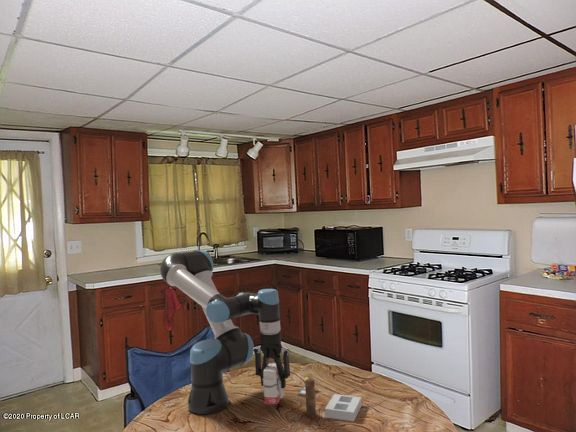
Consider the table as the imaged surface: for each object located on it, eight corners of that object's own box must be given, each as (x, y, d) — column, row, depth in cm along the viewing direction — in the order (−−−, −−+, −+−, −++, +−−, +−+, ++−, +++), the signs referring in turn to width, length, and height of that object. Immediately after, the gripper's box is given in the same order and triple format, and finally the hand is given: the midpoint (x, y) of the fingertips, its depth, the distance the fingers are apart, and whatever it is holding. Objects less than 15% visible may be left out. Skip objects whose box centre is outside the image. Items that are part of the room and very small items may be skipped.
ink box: (278, 404, 146) (275, 371, 146) (264, 404, 147) (261, 371, 148) (284, 394, 155) (281, 362, 155) (271, 394, 156) (268, 362, 156)
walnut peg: (305, 417, 143) (303, 382, 143) (308, 412, 146) (306, 378, 146) (314, 418, 142) (312, 383, 142) (317, 414, 145) (315, 379, 145)
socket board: (325, 417, 142) (324, 408, 142) (334, 402, 153) (334, 394, 153) (353, 421, 138) (353, 412, 138) (361, 405, 149) (361, 397, 149)
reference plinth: (297, 395, 161) (296, 383, 161) (304, 387, 168) (304, 375, 168) (307, 396, 159) (306, 384, 159) (313, 388, 167) (313, 376, 167)
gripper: (243, 333, 151) (246, 397, 151) (289, 336, 144) (293, 403, 144) (252, 328, 158) (256, 388, 158) (297, 330, 151) (301, 394, 151)
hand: (274, 395), depth 151 cm, fingers closed on ink box, 5 cm apart
